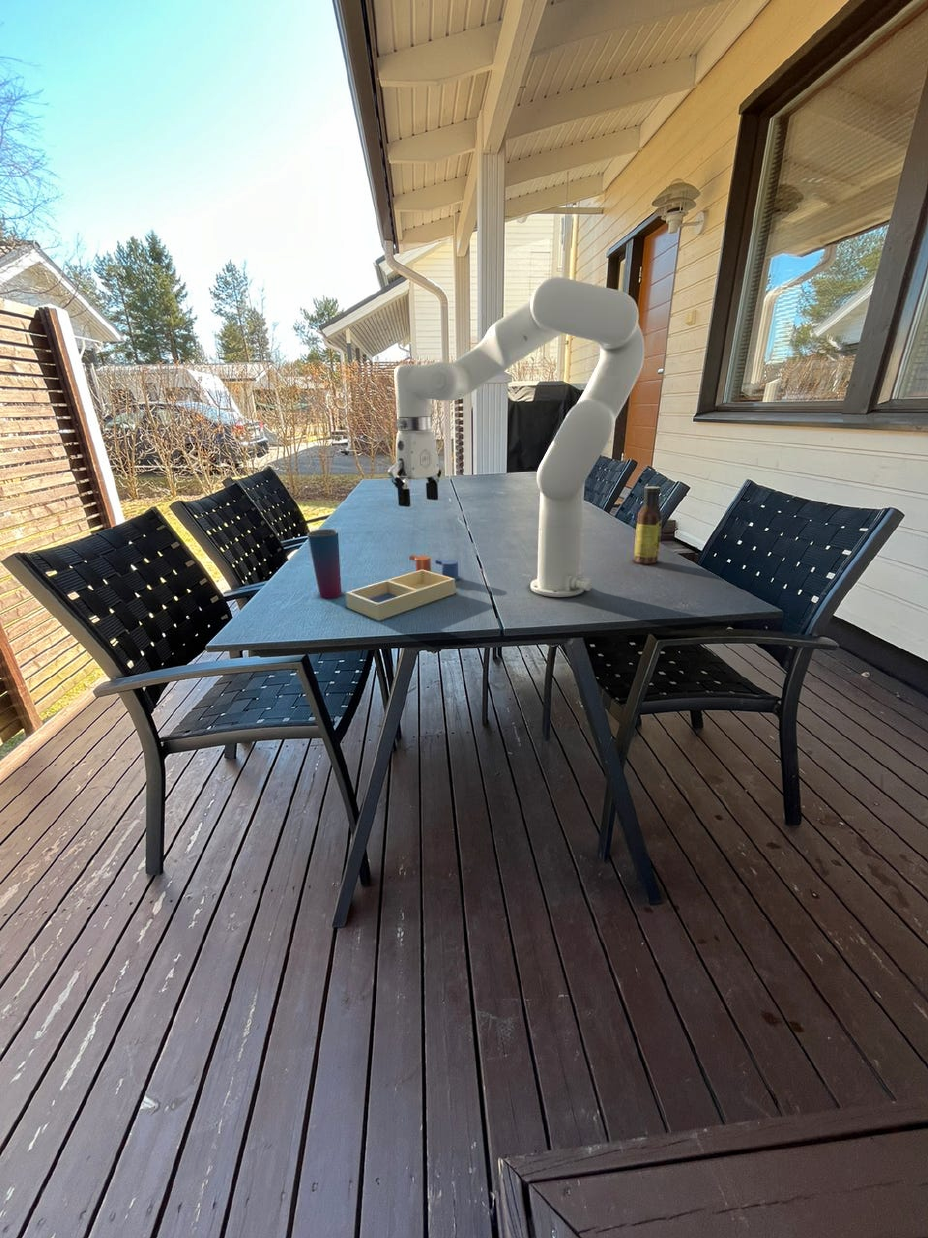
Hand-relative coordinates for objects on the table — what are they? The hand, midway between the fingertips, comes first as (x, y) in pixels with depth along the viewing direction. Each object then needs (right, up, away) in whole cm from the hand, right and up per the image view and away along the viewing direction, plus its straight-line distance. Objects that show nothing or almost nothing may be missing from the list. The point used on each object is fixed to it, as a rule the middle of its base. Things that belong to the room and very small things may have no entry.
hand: (418, 502), depth 124 cm
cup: (-21, -22, 0) cm, 30 cm away
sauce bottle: (+60, -12, +19) cm, 64 cm away
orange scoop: (-1, -15, +14) cm, 21 cm away
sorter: (-3, -23, -4) cm, 24 cm away
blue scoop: (+6, -17, +10) cm, 21 cm away
